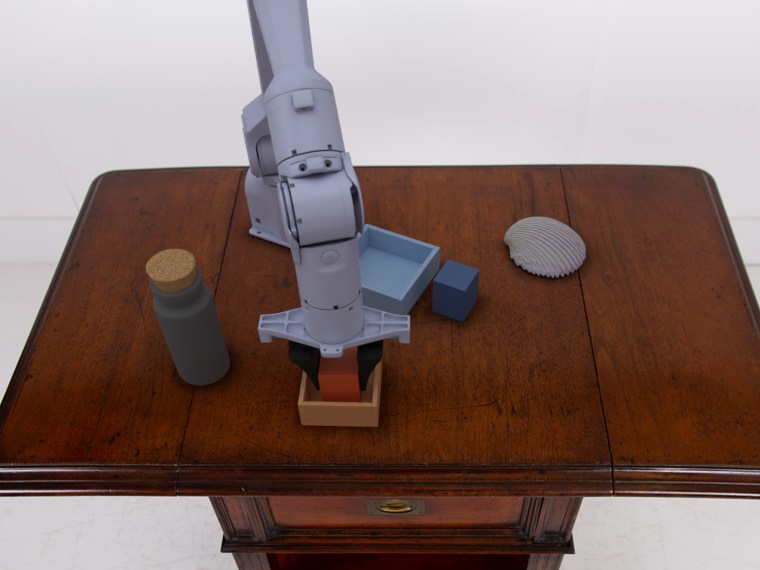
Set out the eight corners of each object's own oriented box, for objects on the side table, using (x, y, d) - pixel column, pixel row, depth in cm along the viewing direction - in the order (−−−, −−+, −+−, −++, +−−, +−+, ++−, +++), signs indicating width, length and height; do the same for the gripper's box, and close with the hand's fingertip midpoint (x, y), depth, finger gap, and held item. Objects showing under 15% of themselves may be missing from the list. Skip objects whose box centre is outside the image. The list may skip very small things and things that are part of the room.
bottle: (207, 394, 82) (172, 293, 70) (166, 372, 84) (126, 271, 72) (241, 359, 85) (213, 257, 73) (202, 339, 87) (168, 236, 75)
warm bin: (301, 425, 79) (297, 404, 76) (310, 367, 84) (306, 346, 81) (378, 427, 79) (376, 406, 76) (382, 369, 84) (381, 347, 81)
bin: (326, 295, 91) (324, 273, 88) (367, 245, 97) (366, 223, 94) (401, 322, 88) (401, 300, 85) (439, 269, 94) (440, 247, 91)
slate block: (432, 311, 89) (432, 280, 85) (446, 290, 91) (447, 259, 87) (462, 322, 88) (465, 291, 84) (476, 301, 90) (479, 269, 86)
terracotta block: (322, 406, 80) (317, 375, 76) (325, 377, 82) (321, 346, 78) (360, 406, 79) (357, 375, 76) (362, 377, 82) (359, 346, 78)
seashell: (506, 200, 97) (586, 194, 94) (511, 235, 101) (588, 230, 98) (496, 250, 91) (582, 246, 88) (502, 285, 95) (584, 282, 92)
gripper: (244, 319, 67) (268, 412, 77) (409, 320, 66) (409, 414, 77) (255, 265, 71) (276, 361, 82) (410, 266, 71) (410, 362, 81)
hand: (341, 383), depth 80 cm, fingers closed on terracotta block, 4 cm apart
